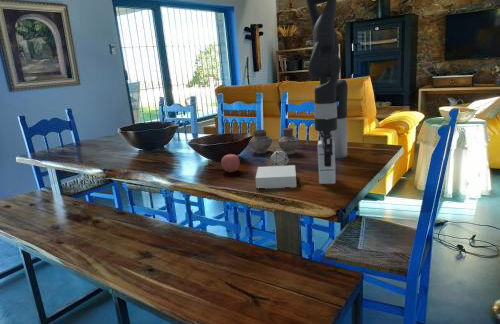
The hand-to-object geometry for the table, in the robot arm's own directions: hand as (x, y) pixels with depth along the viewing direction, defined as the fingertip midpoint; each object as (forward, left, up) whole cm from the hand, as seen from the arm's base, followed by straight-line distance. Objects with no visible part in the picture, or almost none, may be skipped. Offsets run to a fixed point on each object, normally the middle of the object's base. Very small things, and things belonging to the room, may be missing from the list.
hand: (326, 163), depth 129 cm
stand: (-2, -18, -7) cm, 19 cm away
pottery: (-48, -20, -7) cm, 52 cm away
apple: (-18, -37, -7) cm, 42 cm away
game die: (-19, -17, -7) cm, 26 cm away
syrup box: (0, 0, -7) cm, 7 cm away
